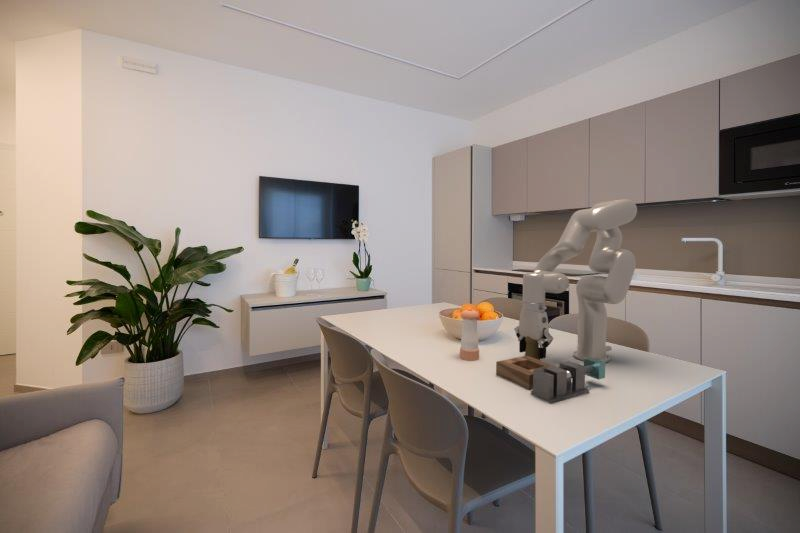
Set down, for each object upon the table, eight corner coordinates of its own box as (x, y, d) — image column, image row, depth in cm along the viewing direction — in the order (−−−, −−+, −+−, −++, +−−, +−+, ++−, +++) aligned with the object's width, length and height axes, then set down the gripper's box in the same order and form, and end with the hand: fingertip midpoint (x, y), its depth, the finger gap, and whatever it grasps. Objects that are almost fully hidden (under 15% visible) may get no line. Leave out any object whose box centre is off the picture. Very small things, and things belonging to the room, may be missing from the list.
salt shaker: (483, 358, 136) (483, 308, 135) (469, 361, 132) (470, 310, 131) (469, 353, 142) (469, 306, 141) (455, 356, 138) (456, 307, 137)
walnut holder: (526, 368, 125) (526, 355, 125) (560, 381, 113) (561, 367, 112) (496, 374, 119) (496, 361, 118) (529, 389, 106) (529, 375, 106)
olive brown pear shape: (542, 367, 126) (543, 337, 125) (524, 366, 127) (525, 336, 126) (539, 362, 132) (540, 333, 131) (522, 361, 133) (522, 332, 132)
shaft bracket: (567, 384, 111) (568, 359, 110) (588, 392, 104) (589, 366, 104) (530, 394, 103) (531, 367, 103) (551, 403, 97) (551, 375, 96)
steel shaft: (589, 372, 114) (590, 357, 113) (605, 377, 109) (605, 361, 109) (553, 382, 106) (553, 365, 106) (567, 388, 101) (568, 370, 101)
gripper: (561, 310, 122) (559, 360, 123) (522, 302, 137) (521, 347, 138) (546, 311, 119) (544, 363, 120) (507, 304, 134) (506, 350, 135)
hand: (532, 354), depth 129 cm, fingers open, 8 cm apart
